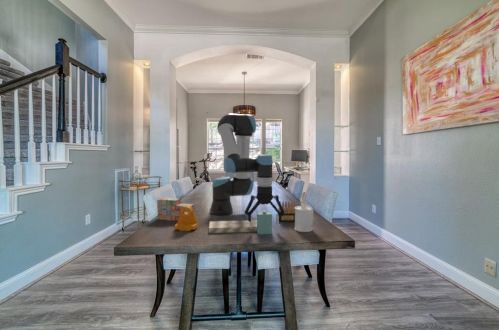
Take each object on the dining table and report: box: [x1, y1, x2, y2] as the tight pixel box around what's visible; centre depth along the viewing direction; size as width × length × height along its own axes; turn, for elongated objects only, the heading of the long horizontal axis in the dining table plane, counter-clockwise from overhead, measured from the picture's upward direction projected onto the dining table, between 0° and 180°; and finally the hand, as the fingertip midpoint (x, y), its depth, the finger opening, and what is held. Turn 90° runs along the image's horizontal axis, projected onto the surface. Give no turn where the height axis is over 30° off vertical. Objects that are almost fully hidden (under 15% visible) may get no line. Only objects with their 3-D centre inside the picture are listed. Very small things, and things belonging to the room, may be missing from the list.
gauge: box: [256, 210, 273, 235], centre depth 135 cm, size 7×14×11 cm, turn 6°
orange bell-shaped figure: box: [174, 205, 199, 232], centre depth 136 cm, size 11×7×12 cm, turn 90°
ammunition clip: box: [278, 201, 297, 223], centre depth 149 cm, size 11×2×12 cm, turn 95°
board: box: [208, 219, 257, 234], centre depth 137 cm, size 32×12×2 cm, turn 96°
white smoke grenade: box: [293, 191, 314, 233], centre depth 134 cm, size 10×9×20 cm
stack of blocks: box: [156, 197, 195, 222], centre depth 154 cm, size 21×6×12 cm, turn 75°
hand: (264, 227), depth 130 cm, fingers open, 13 cm apart
